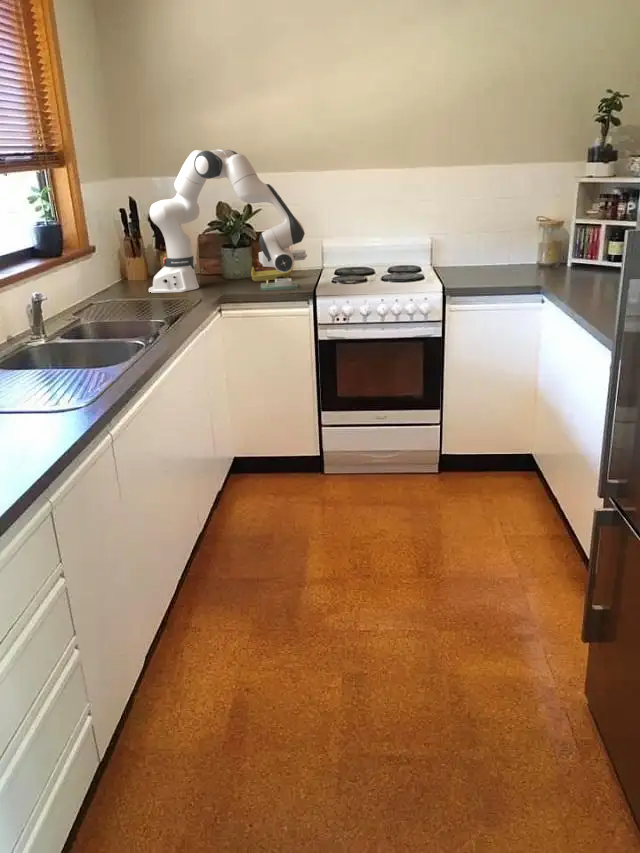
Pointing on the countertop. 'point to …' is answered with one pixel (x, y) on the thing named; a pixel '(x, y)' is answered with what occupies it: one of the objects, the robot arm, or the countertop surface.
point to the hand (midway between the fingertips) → (281, 253)
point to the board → (279, 285)
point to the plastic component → (269, 275)
